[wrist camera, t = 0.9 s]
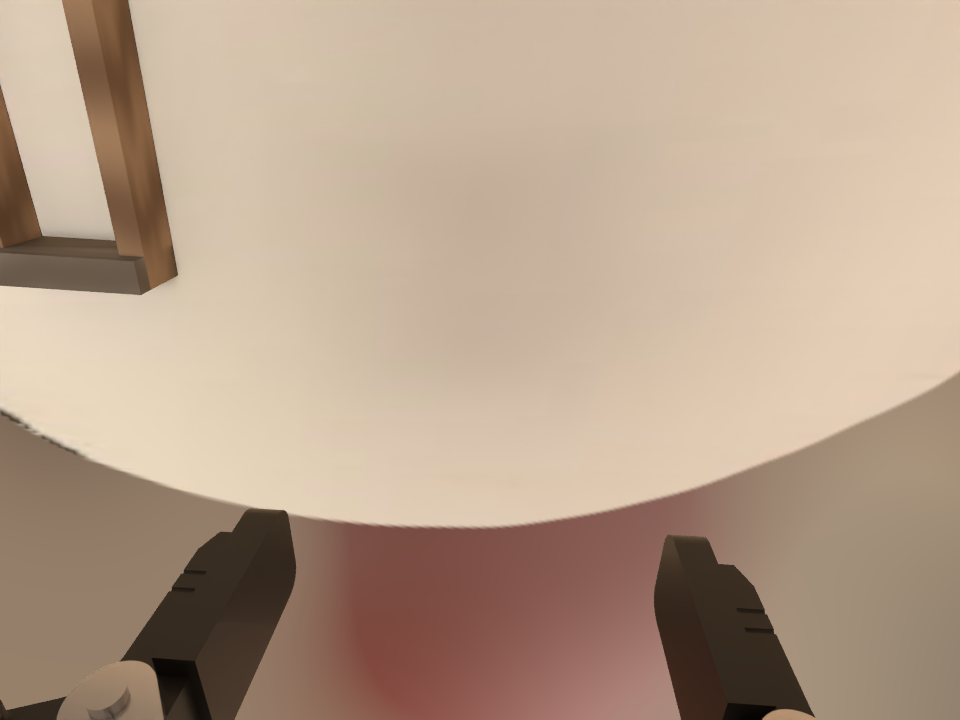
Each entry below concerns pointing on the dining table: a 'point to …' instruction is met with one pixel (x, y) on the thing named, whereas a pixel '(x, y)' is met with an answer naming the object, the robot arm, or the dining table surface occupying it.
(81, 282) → the guide channel
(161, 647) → the robot arm
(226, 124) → the dining table surface
